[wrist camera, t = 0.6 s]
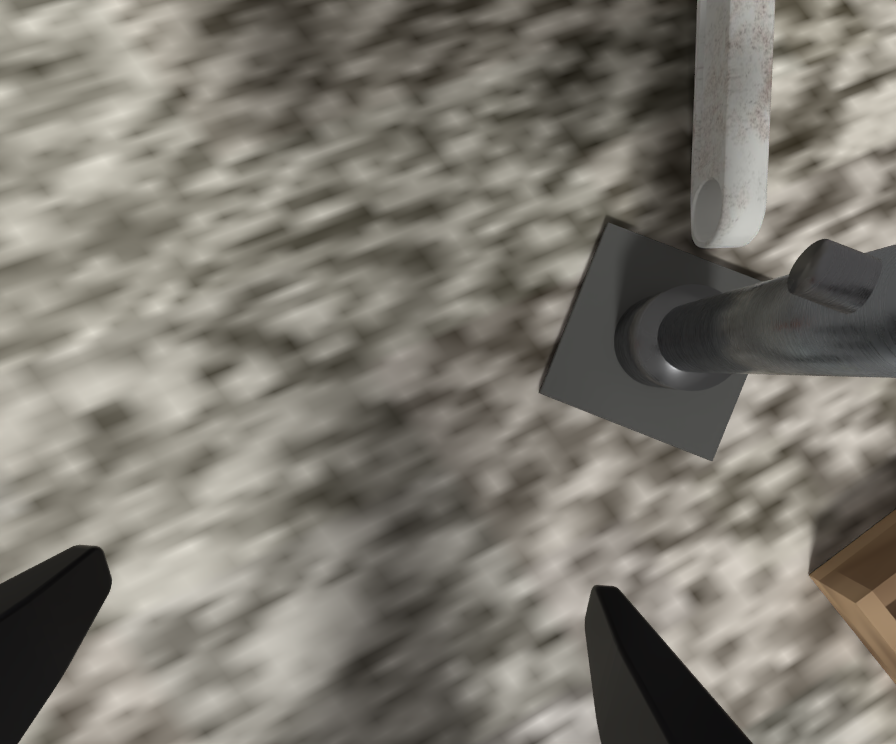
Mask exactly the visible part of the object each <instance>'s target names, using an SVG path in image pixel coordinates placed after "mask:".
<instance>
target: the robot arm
mask: <svg viewBox="0 0 896 744" xmlns="http://www.w3.org/2000/svg"><path fill="white" fill-rule="evenodd" d="M111 585H112V578H111V574H110V571H109V567H108V564H107V561H106V557H105V554H104V551H103V550H102V549H101V548H100V547H98V546H89V545H76V546H73V547H71V548H69V549H67V550H65V551H63V552H61V553H59V554H57V555H55V556H53V557H51V558H50V559H48V560H46V561H44V562H42V563H40V564H38V565H36V566H34V567H32V568H30V569H28V570H26V571H24V572H22V573H20V574H19V575H17V576H15V577H13V578H11V579H9V580H7V581H5V582H3V583H1V584H0V744H18V743H19V741H20V740H21V738H22V737H23V735H24V734H25V732H26V731H27V729H28V728H29V726H30V725H31V723H32V722H33V720H34V719H35V717H36V716H37V714H38V713H39V711H40V710H41V708H42V707H43V705H44V704H45V702H46V701H47V699H48V698H49V696H50V695H51V693H52V692H53V690H54V689H55V687H56V686H57V684H58V683H59V681H60V680H61V678H62V676H63V675H64V673H65V671H66V669H67V668H68V666H69V664H70V663H71V661H72V659H73V657H74V655H75V654H76V652H77V650H78V648H79V646H80V645H81V643H82V641H83V639H84V637H85V636H86V634H87V632H88V630H89V628H90V627H91V625H92V623H93V621H94V619H95V617H96V616H97V614H98V612H99V610H100V608H101V607H102V605H103V603H104V601H105V599H106V598H107V596H108V594H109V592H110V589H111ZM585 634H586V642H587V650H588V658H589V666H590V673H591V681H592V689H593V697H594V705H595V712H596V719H597V725H598V730H599V735H600V740H601V744H753V743H752V742H751V741H750V740H749V739H748V737H747V736H746V735H745V734H744V733H743V732H742V730H741V729H740V728H739V727H738V726H737V725H736V724H735V722H734V721H733V720H732V719H731V718H730V717H729V715H728V714H727V713H726V712H725V711H724V710H723V709H722V707H721V706H720V705H719V704H718V703H717V702H716V700H715V699H714V698H713V697H712V696H711V695H710V694H709V692H708V691H707V690H706V689H705V688H704V687H703V685H702V684H701V683H700V682H699V681H698V680H697V679H696V677H695V676H694V675H693V674H692V673H691V672H690V670H689V669H688V668H687V667H686V666H685V665H684V664H683V662H682V661H681V660H680V659H679V658H678V657H677V655H676V654H675V653H674V652H673V651H672V650H671V649H670V647H669V646H668V645H667V644H666V643H665V642H664V640H663V639H662V638H661V637H660V636H659V635H658V634H657V632H656V631H655V630H654V629H653V628H652V627H651V625H650V624H649V623H648V622H647V621H646V620H645V619H644V617H643V616H642V615H641V614H640V613H639V612H638V610H637V609H636V608H635V607H634V606H633V605H632V603H631V602H630V601H629V600H628V599H627V598H626V597H625V595H624V594H623V593H622V592H621V591H620V590H619V589H618V588H617V587H614V586H604V585H595V586H593V588H592V590H591V594H590V598H589V603H588V607H587V612H586V616H585Z"/></svg>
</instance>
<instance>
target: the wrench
mask: <svg viewBox="0 0 896 744" xmlns="http://www.w3.org/2000/svg"><path fill="white" fill-rule="evenodd" d="M774 15H775V0H697V23H696V55H695V87H694V114H693V139H692V165H691V195H690V200H691V236H692V238H693V241H694V243H695V245H696V246H698V247H700V248H730V247H743V246H745V245H747V244H749V243H750V242H751V240H752V239H753V238H754V237H755V236H756V235H757V234H758V232H759V229H760V227H761V225H762V222H763V218H764V215H765V209H766V201H767V177H768V154H769V131H770V108H771V85H772V62H773V38H774Z"/></svg>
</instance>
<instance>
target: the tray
mask: <svg viewBox="0 0 896 744" xmlns="http://www.w3.org/2000/svg"><path fill="white" fill-rule="evenodd" d="M809 576H810V577H811V579H812V580H813V581H814V582H815V584H816V585H817V586H818V587H819V589H820V590H821V591H822V592H823V594H824V595H825V596H826V597H827V599H828V600H829V601H830V602H831V604H832V605H833V606H834V607H835V609H836V610H837V611H838V612H839V614H840V615H841V616H842V617H843V619H844V620H845V621H846V622H847V624H848V625H849V626H850V627H851V629H852V630H853V631H854V632H855V634H856V635H857V636H858V637H859V639H860V640H861V641H862V643H863V644H864V645H865V646H866V648H867V649H868V650H869V651H870V653H871V654H872V655H873V656H874V658H875V659H876V660H877V661H878V663H879V664H880V665H881V666H882V668H883V669H884V670H885V671H886V673H887V674H888V675H889V676H890V678H891V679H892V680H893V681H894V683H895V684H896V509H895V510H894V511H893V512H891V513H890V514H889V515H888V516H886V517H885V518H884V519H882V520H881V521H880V522H878V523H877V524H876V525H874V526H873V527H872V528H870V529H869V530H868V531H866V532H865V533H864V534H862V535H861V536H860V537H859V538H857V539H856V540H855V541H853V542H852V543H851V544H849V545H848V546H847V547H845V548H844V549H843V550H841V551H840V552H839V553H837V554H836V555H835V556H834V557H832V558H831V559H830V560H828V561H827V562H826V563H824V564H823V565H822V566H820V567H819V568H818V569H816V570H815V571H814V572H812V573H811V574H810V575H809Z"/></svg>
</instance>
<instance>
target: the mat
mask: <svg viewBox="0 0 896 744" xmlns="http://www.w3.org/2000/svg"><path fill="white" fill-rule="evenodd" d="M760 282H762V281H759V280H757V279H754V278H751V277H749V276H746V275H744V274H741V273H739V272H736V271H733V270H731V269H728V268H726V267H723V266H720V265H718V264H715V263H713V262H710V261H707V260H705V259H702V258H700V257H697V256H694V255H692V254H689V253H687V252H684V251H682V250H679V249H676V248H674V247H671V246H669V245H666V244H663V243H661V242H658V241H656V240H653V239H650V238H648V237H645V236H643V235H640V234H637V233H635V232H632V231H630V230H627V229H624V228H622V227H619V226H617V225H614V224H612V223H609V222H608V223H607V224H606V226H605V228H604V231H603V233H602V236H601V238H600V241H599V243H598V246H597V248H596V251H595V253H594V256H593V258H592V261H591V263H590V266H589V268H588V271H587V273H586V276H585V278H584V281H583V283H582V286H581V288H580V291H579V293H578V296H577V299H576V301H575V304H574V306H573V309H572V311H571V314H570V316H569V319H568V321H567V324H566V326H565V329H564V331H563V334H562V336H561V339H560V341H559V344H558V346H557V349H556V351H555V354H554V356H553V359H552V361H551V364H550V366H549V369H548V371H547V374H546V376H545V379H544V381H543V384H542V386H541V389H540V391H539V393H541V394H543V395H546V396H548V397H551V398H553V399H556V400H558V401H561V402H563V403H566V404H568V405H571V406H573V407H576V408H578V409H581V410H584V411H586V412H589V413H591V414H594V415H596V416H599V417H601V418H604V419H606V420H609V421H611V422H614V423H616V424H619V425H621V426H624V427H627V428H629V429H632V430H634V431H637V432H639V433H642V434H644V435H647V436H649V437H652V438H654V439H657V440H659V441H662V442H664V443H667V444H670V445H672V446H675V447H677V448H680V449H682V450H685V451H687V452H690V453H692V454H695V455H697V456H700V457H702V458H705V459H707V460H710V461H713V458H714V456H715V453H716V451H717V449H718V446H719V444H720V441H721V439H722V436H723V434H724V431H725V429H726V426H727V424H728V422H729V419H730V417H731V414H732V412H733V409H734V407H735V404H736V402H737V399H738V397H739V395H740V392H741V390H742V387H743V385H744V382H745V380H746V377H747V375H748V374H732V375H731V376H730V377H728V378H727V379H726V380H725V381H723V382H722V383H720V384H718V385H716V386H714V387H712V388H709V389H705V390H701V391H683V390H674V389H665V388H655V387H650V386H646V385H643V384H641V383H639V382H637V381H635V380H634V379H632V378H631V377H630V376H629V375H628V374H627V373H626V372H625V371H624V370H623V368H622V367H621V365H620V364H619V362H618V359H617V357H616V354H615V349H614V335H615V330H616V327H617V324H618V322H619V320H620V318H621V317H622V315H623V314H624V313H625V312H626V311H627V309H629V308H630V307H631V306H632V305H633V304H635V303H636V302H638V301H640V300H642V299H645V298H647V297H650V296H653V295H656V294H658V293H661V292H664V291H666V290H669V289H672V288H674V287H677V286H681V285H688V284H699V285H705V286H709V287H712V288H714V289H716V290H718V291H720V292H722V293H725V292H728V291H732V290H736V289H739V288H743V287H746V286H750V285H753V284H757V283H760Z"/></svg>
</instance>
